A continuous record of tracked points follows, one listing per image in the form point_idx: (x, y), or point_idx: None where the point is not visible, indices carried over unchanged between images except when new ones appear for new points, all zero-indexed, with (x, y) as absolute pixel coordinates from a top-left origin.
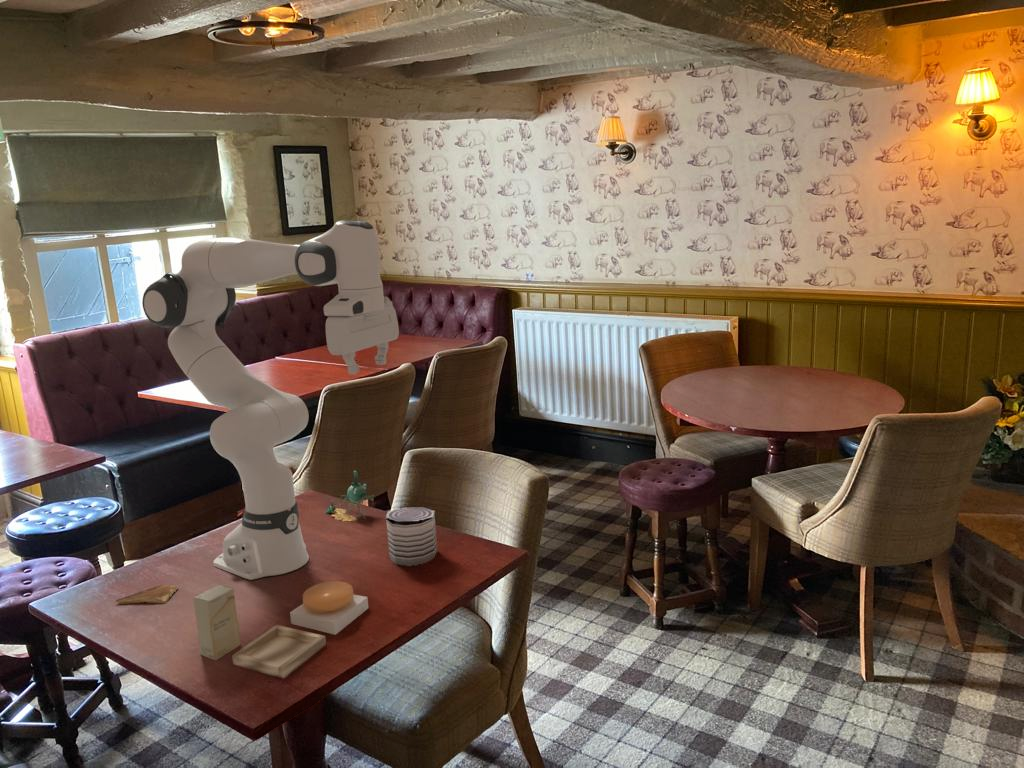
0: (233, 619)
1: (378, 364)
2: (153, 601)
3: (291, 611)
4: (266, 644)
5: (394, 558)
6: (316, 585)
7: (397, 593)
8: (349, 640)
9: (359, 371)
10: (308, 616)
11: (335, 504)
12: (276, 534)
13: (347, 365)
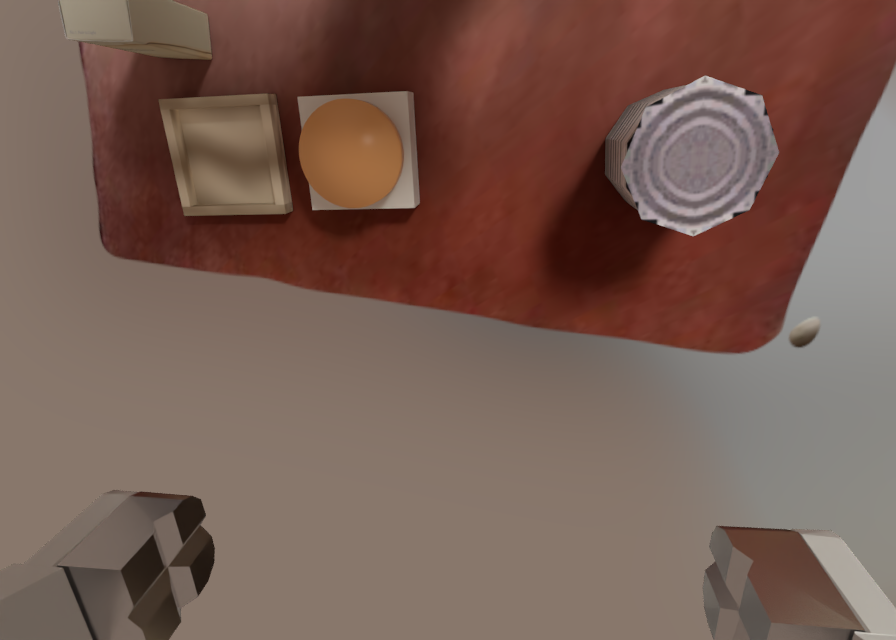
0: (167, 51)
1: (716, 554)
2: None
3: (301, 97)
4: (235, 110)
5: (612, 135)
6: (362, 105)
7: (500, 214)
8: (324, 237)
9: (207, 579)
10: None
11: None
12: None
13: (25, 562)
